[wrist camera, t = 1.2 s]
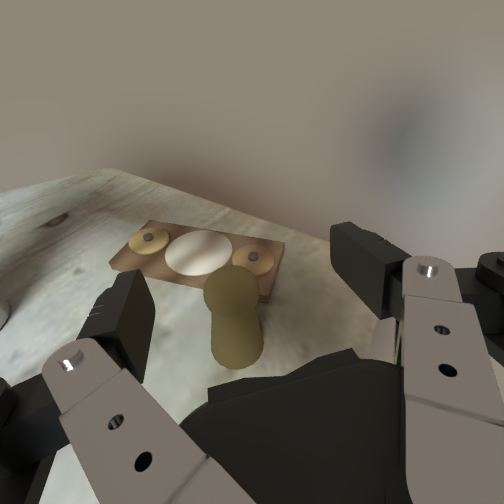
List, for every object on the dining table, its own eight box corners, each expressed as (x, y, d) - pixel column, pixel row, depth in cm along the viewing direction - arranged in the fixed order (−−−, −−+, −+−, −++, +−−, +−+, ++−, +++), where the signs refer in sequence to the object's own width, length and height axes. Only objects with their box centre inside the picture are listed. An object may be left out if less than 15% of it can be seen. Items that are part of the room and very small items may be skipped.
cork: (229, 381, 28) (218, 319, 21) (201, 338, 32) (184, 273, 25) (274, 348, 31) (278, 283, 23) (244, 313, 35) (239, 247, 27)
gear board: (112, 269, 41) (104, 254, 39) (152, 226, 49) (147, 213, 47) (267, 303, 36) (268, 288, 34) (284, 249, 43) (285, 235, 41)
